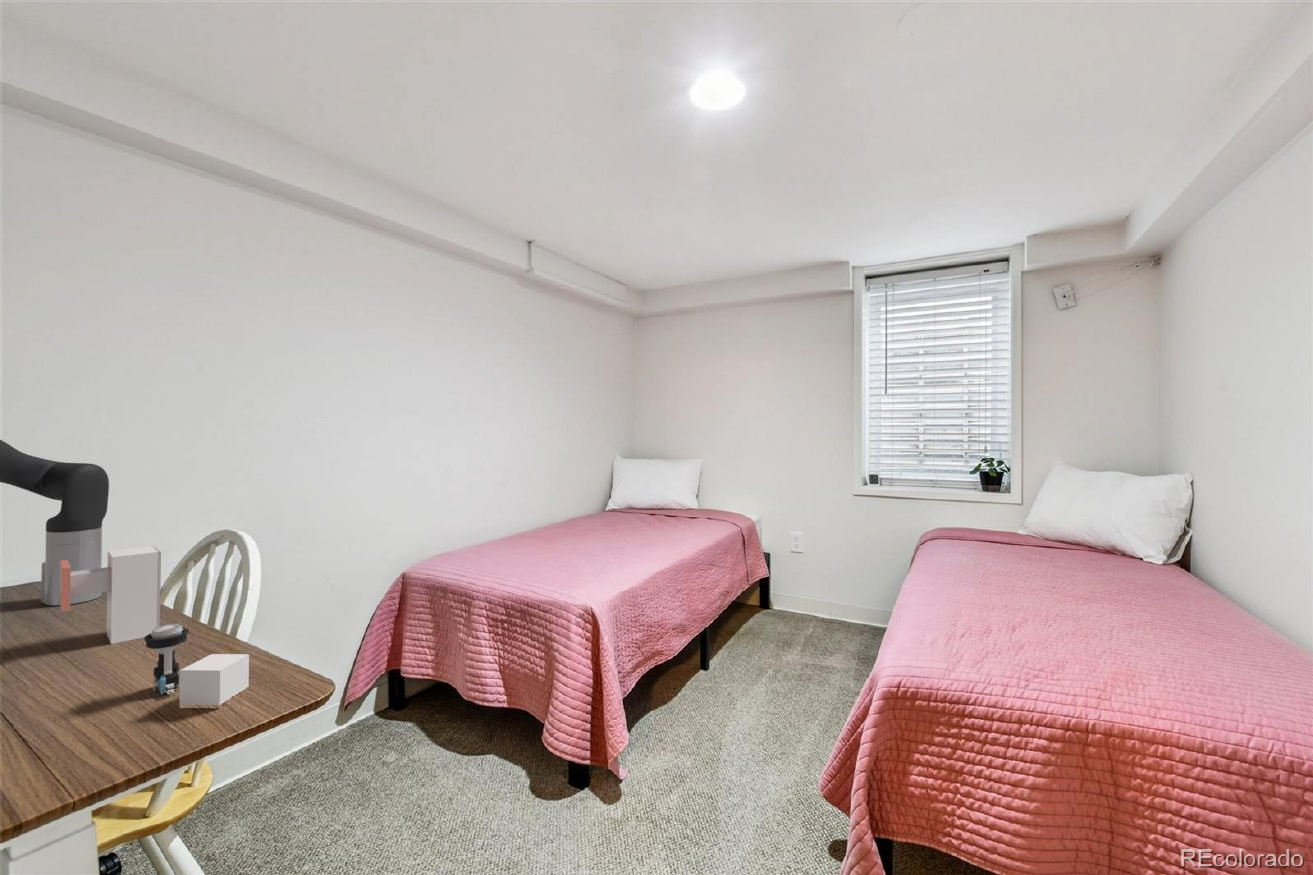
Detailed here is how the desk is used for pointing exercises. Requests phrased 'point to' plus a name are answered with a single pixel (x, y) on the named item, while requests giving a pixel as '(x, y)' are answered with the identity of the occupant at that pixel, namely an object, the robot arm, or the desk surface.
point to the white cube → (214, 679)
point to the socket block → (133, 593)
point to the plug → (81, 583)
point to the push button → (166, 654)
